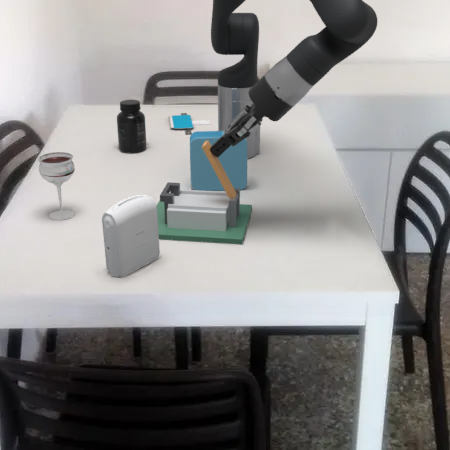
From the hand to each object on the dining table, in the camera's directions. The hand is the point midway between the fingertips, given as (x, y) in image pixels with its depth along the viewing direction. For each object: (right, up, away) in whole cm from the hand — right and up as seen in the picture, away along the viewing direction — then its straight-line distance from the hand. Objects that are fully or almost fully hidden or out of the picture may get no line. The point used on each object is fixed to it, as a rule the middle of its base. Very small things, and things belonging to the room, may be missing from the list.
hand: (213, 152), depth 134 cm
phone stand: (-8, +14, +67) cm, 68 cm away
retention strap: (+4, -8, +3) cm, 10 cm away
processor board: (-3, -13, +6) cm, 15 cm away
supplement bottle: (-21, +5, +47) cm, 51 cm away
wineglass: (-30, -11, +11) cm, 34 cm away
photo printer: (-14, -20, -9) cm, 26 cm away
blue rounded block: (+1, -5, +24) cm, 24 cm away
